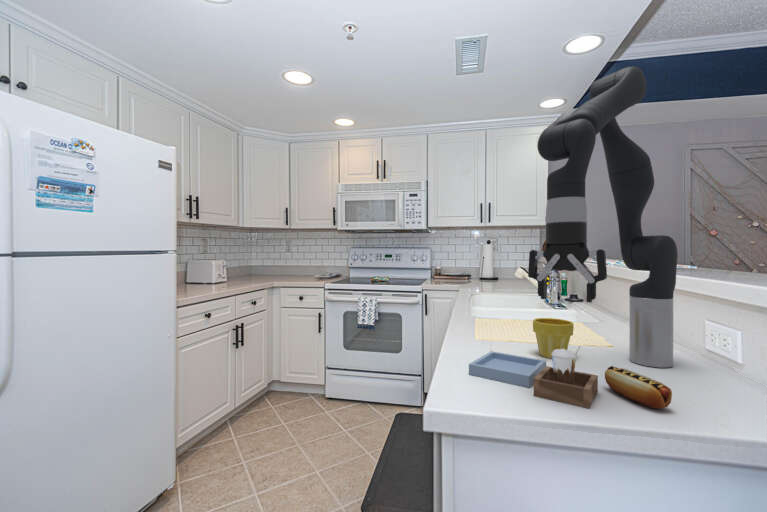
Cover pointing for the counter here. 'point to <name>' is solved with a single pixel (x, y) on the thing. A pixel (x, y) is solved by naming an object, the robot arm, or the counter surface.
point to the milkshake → (564, 365)
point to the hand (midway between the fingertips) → (565, 300)
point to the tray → (507, 368)
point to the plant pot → (552, 334)
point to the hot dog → (638, 387)
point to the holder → (567, 388)
